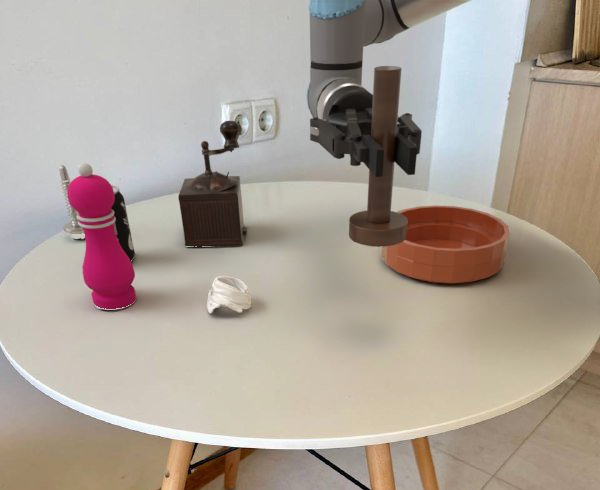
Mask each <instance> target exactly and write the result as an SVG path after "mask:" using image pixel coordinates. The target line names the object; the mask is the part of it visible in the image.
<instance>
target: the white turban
mask: <svg viewBox="0 0 600 490" xmlns="http://www.w3.org/2000/svg"><path fill="white" fill-rule="evenodd" d="M211 287H212V288H211V289H210V290H209V291H208V294H207V302H206V309H207V312H208V314H210V315H213V313H214V310H216V308H217V309H218V308H220V307H225V308H229V309H230V310H233V311H235V312H237V313H240V314H241V313H242V312H243V310H249V309H250V308H251V307H252V299H251V296H252V292H251V290H250V289H249V286H248V285H247V284H246V283H245V282H244V281H242V280H241V279H239V278H237V277H234V276H229V275H218V276H216V277H215V278H214V279H213V283H212V284H211Z"/></svg>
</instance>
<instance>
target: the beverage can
mask: <svg viewBox="0 0 600 490" xmlns="http://www.w3.org/2000/svg"><path fill="white" fill-rule="evenodd" d="M111 186H112V188H113V191H114V195H115V200H114V203H113V205H112V207H111V209H112V210H114V217H115V218H116V221H115V222H114V231H115V234H116V237H117V240H118V242H119V244H120V245H121V247H122V249H123V250H124V252H125V253H126V255H127V256H128V257H129V259H130V261H131V260H132V259H134V258H135V256H136V253H135V247H134V241H133V237H132V232H131V227H130V222H129V218H128V211H127V207H126V202H125V197H124V195H123V194H122V193H121V191H120V187H119V186H117V185H115V184H111ZM132 261H133V260H132ZM132 261H131V262H132Z"/></svg>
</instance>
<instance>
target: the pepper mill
mask: <svg viewBox="0 0 600 490" xmlns="http://www.w3.org/2000/svg"><path fill="white" fill-rule="evenodd" d="M77 171H78V174H79V176H77V177H75V178H73V179H72V180H70V181H71V183H70V184H69V186H68V192H67V195H68V200H69V203H70V205H71V206H72V208H73V209H75V210H76V211H77V212H78V214H77V216H76V217H77V219H78V225H79V226H81V227H82V228H83V231H84V234H85V239H84V240H85V251H84V258H83V263H82V277H83V281H84V284H85V286H87V288H89V289H90V290H92V291H91V300H92V304H93V303H94V304H95V305H96V306H98V307H100V308H104V309H105V308H106V309H116V308H122V307H126V306H128V305H130V304H132V303H133V302H134V301H135V300H136V301H137V295H136V290H135V287H134V286H133V282H134V280H135V277H136V276H135V275H136V273H135V269H134V265H133V263H132V261H130V259H129V257H128V256H127V255H126V253H125V252H124V250H123V249H122V247H121V245H120V244H119V242H118V240H117V237H116V234H115V231H114V222H115V221H116V218H115V217H114V210H112V209H111V207H112V205H113V203H114V200H115V195H114V191H113V188H112V186H111V185H112V184H111V183H110V182H109V180H107V178H105V177H103V176H101V175H98V174H93V172H94V171H93V167H92V165H90V164H89V163H86V162H82V163H81V164H79V166H78V169H77ZM136 301H135V302H136ZM135 302H134V303H135ZM134 303H133V304H134ZM94 304H93V305H94ZM133 304H132V305H133Z"/></svg>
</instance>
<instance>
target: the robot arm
mask: <svg viewBox="0 0 600 490" xmlns="http://www.w3.org/2000/svg"><path fill="white" fill-rule="evenodd" d="M471 1H472V0H309V4H308V11H309V47H310V48H309V49H310V52H309V53H310V57H309V58H310V67H309V81H310V82H309V83H308V86H307V90H306V102H307V108H308V110H309V112H310V114H311V116H312V117H311V118H309V138H310V139H309V141H311V142H314V143H316V144H318V145H320V146H321V147H322V148H323V149H324V150H325V151H327V152H328V154H330V156H332V157H333V158H334V159H337V160H341V159H344V158H345V155H349V158H350V161H349V165H350V166H352V167H359V166H361V165H362V163H363V164H364V166H366V167H367V169H368V171H369V170H370V171H371V172H372V173H373V175H374V176H375V177H383V161H384V149H383V148H382V147H381V146H380V145H379V144H378V143H377V142H376V141H375V140H374V139H373V138H372V137H371V124H372V104H373V93H371V92H370V91H369V90H367V88H365V87H364V86H363V85H362V83H363V81H362V80H363V77H362V76H363V62H364V47H368V46H370V45H374V44H382V43H385V42H387V41H389V40H392V39H393V38H394V37H395V36H397V35H398V34H401V33H403V32H405V31H407V30H409V29H411V28H413V27H415V26H417V25H420V24H422V23H424V22H427V21H429V20H431V19H433V18H436V17H438V16H440V15H442V14H444V13H447V12H450V11H451V10H453V9H455V8H458V7H460V6H462V5H463V4H466V3H468V2H471ZM422 132H423V130H422V129H421V128H420V127H419V126H418V125H417V124H416V122H414V120H413V114H412V113H410V112H406V113H403V114H402V115H398V122H397V135H396V148H395V162H394V164H396V165H397V166H398V167H399V168H400V169H401V170H402V171H403V172H405V174H406V175H407V176H413V175H416V166H417V158H418V157H417V156H418V155H419V154H421V143H422V134H423V133H422Z"/></svg>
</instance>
